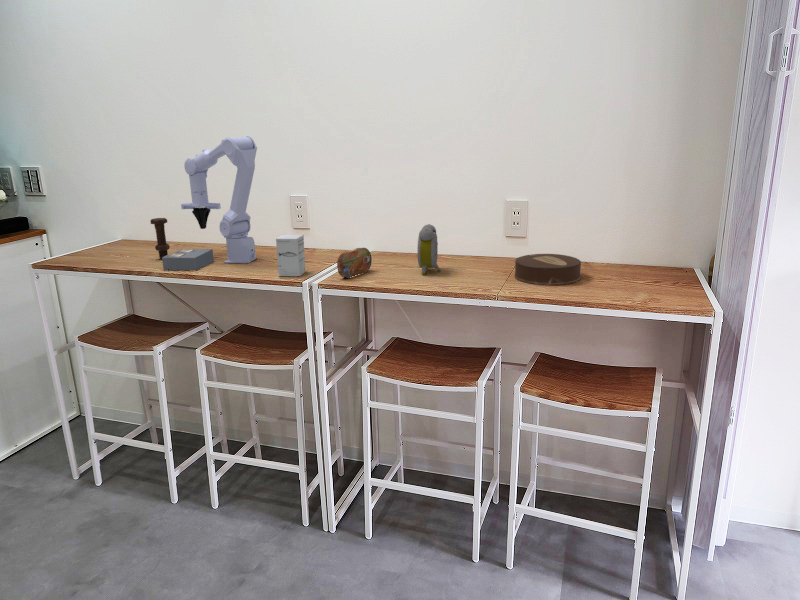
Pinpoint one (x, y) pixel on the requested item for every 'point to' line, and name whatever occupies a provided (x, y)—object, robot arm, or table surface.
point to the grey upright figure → (427, 248)
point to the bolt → (160, 236)
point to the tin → (354, 262)
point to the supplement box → (290, 255)
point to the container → (547, 269)
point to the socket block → (188, 260)
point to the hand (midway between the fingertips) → (203, 228)
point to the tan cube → (176, 255)
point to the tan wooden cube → (185, 251)
